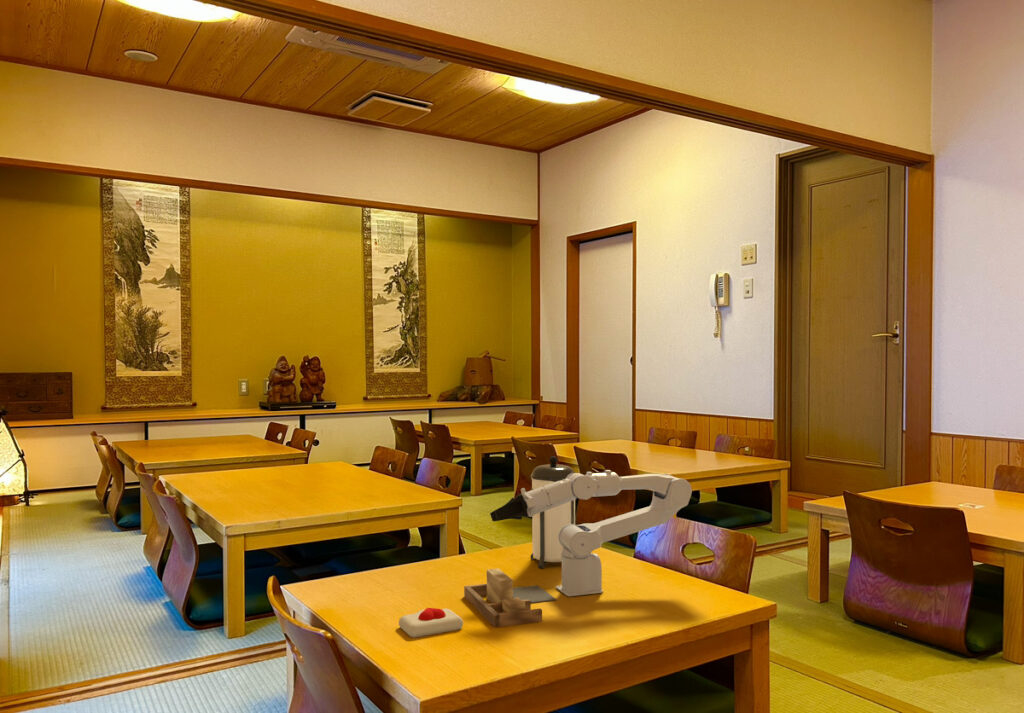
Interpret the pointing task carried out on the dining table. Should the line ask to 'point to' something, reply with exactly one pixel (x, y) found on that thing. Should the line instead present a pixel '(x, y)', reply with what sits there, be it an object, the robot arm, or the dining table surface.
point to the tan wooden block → (498, 586)
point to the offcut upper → (513, 604)
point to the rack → (500, 608)
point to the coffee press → (550, 515)
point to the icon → (430, 622)
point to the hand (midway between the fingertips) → (493, 516)
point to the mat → (532, 594)
